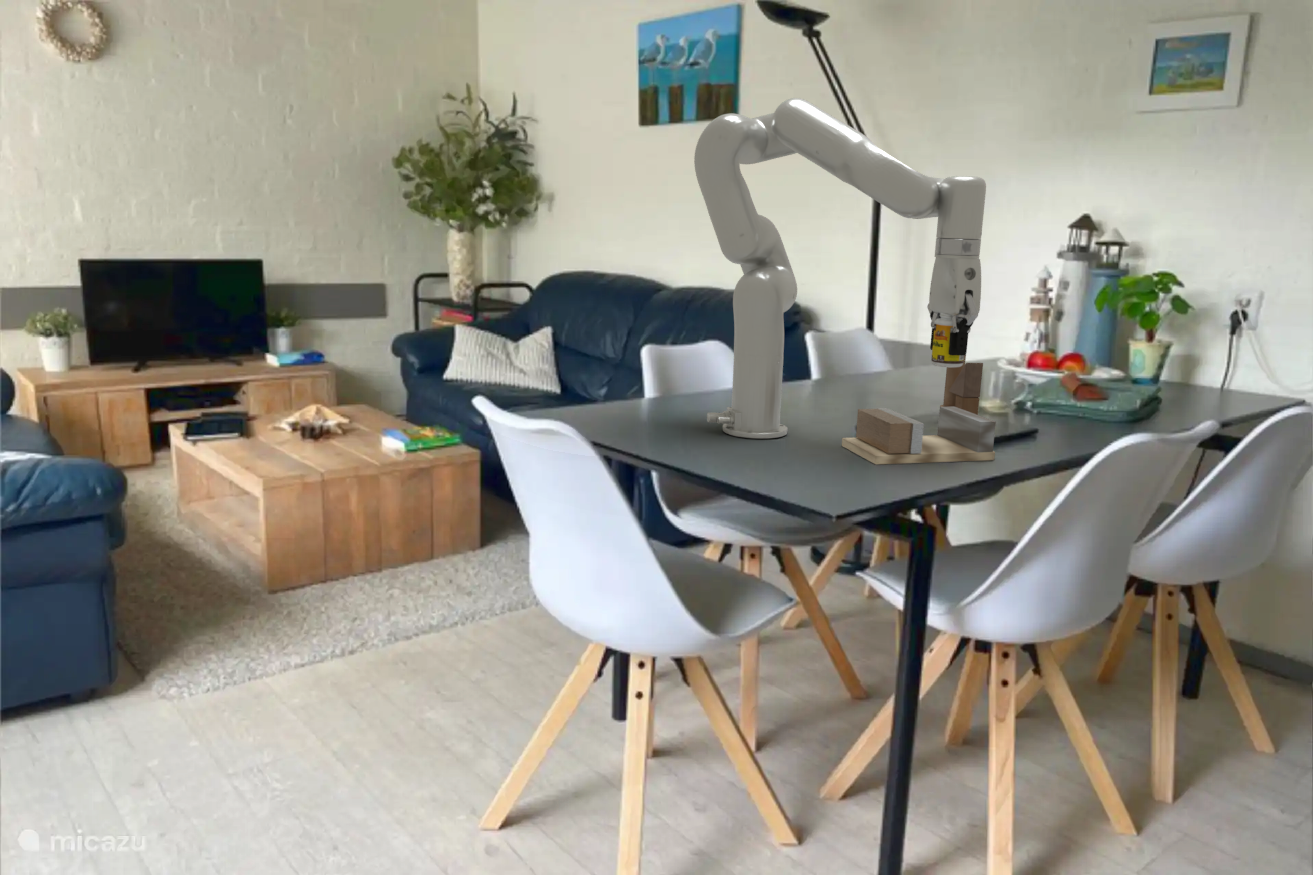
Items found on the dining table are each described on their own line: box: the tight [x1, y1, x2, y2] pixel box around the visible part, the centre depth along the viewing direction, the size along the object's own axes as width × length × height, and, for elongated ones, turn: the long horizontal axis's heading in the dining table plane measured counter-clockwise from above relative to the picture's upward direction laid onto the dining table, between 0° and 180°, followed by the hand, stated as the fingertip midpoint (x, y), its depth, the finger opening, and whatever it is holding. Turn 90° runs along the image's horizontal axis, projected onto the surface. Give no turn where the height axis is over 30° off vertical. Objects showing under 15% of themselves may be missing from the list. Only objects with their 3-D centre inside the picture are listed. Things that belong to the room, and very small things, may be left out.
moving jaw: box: [855, 407, 925, 454], centre depth 174 cm, size 6×14×5 cm, turn 14°
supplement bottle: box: [930, 312, 964, 368], centre depth 173 cm, size 6×6×10 cm
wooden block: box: [939, 354, 984, 415], centre depth 198 cm, size 4×11×18 cm, turn 7°
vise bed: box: [841, 406, 997, 465], centre depth 176 cm, size 23×14×7 cm, turn 104°
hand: (947, 351), depth 173 cm, fingers closed on supplement bottle, 5 cm apart
